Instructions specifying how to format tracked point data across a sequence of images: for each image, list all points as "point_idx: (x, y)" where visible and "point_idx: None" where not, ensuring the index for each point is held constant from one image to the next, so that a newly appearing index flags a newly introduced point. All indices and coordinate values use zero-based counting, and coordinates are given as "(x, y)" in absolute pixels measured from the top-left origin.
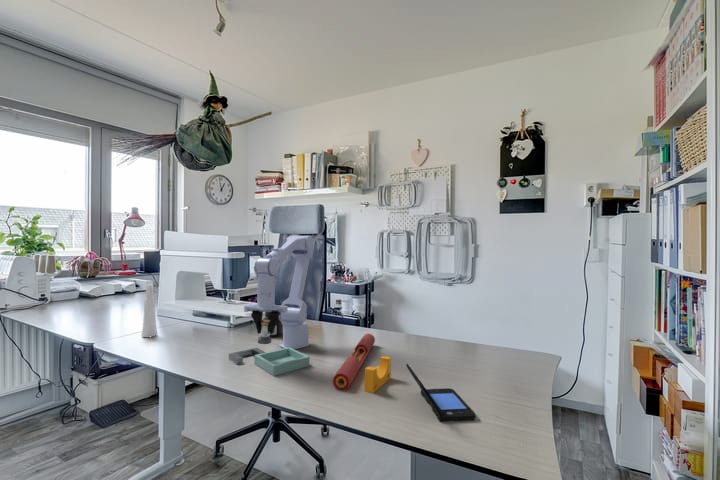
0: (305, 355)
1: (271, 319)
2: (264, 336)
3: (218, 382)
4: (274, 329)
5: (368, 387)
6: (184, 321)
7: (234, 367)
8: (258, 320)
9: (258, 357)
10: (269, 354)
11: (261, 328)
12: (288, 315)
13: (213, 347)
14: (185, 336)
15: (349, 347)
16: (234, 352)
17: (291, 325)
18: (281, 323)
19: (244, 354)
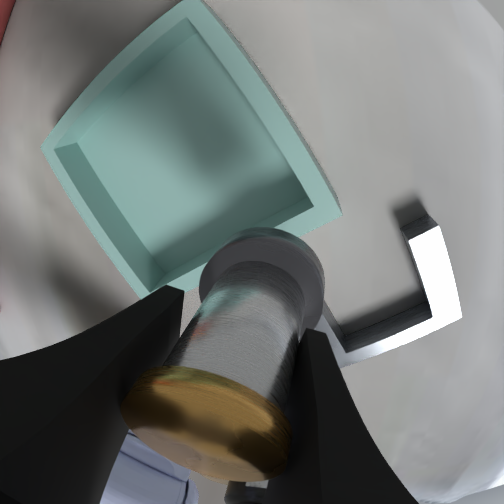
0: (55, 166)
1: (37, 388)
2: (251, 277)
3: (470, 5)
4: None
5: None
6: (450, 501)
7: (439, 174)
8: (312, 471)
9: (312, 160)
10: None
11: (275, 358)
12: (130, 487)
13: (464, 408)
14: (485, 457)
15: (18, 303)
16: (436, 328)
17: (130, 436)
18: (229, 489)
19: (387, 326)
